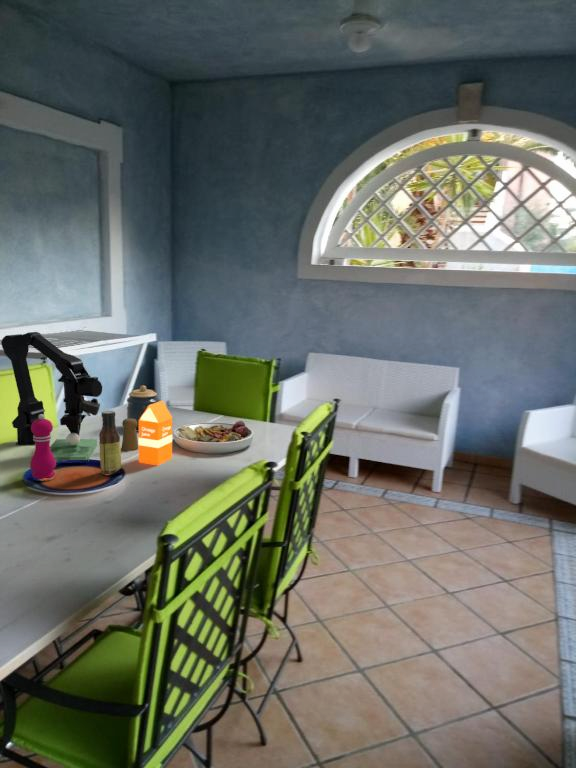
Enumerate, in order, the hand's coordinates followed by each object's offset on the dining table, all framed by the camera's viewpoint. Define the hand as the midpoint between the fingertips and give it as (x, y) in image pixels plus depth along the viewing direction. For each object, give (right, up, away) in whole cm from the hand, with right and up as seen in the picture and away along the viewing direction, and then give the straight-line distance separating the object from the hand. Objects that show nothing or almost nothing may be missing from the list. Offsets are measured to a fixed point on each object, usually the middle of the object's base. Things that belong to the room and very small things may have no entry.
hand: (76, 437), depth 202 cm
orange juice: (+30, -7, -7) cm, 31 cm away
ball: (0, 0, -4) cm, 3 cm away
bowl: (+46, -4, +15) cm, 49 cm away
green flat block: (0, -5, -5) cm, 7 cm away
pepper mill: (+1, -10, -29) cm, 31 cm away
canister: (+15, +1, +34) cm, 37 cm away
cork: (+18, -5, +5) cm, 19 cm away
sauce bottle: (+19, -9, -22) cm, 30 cm away
